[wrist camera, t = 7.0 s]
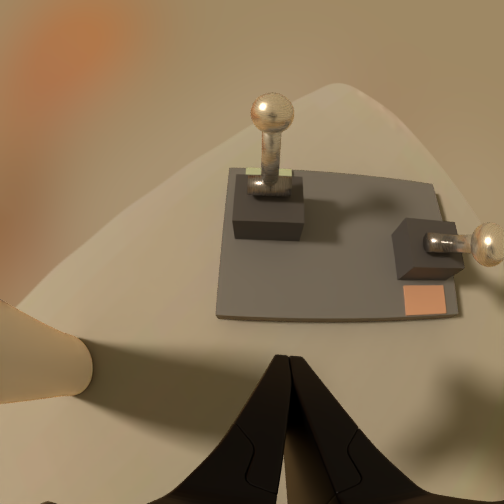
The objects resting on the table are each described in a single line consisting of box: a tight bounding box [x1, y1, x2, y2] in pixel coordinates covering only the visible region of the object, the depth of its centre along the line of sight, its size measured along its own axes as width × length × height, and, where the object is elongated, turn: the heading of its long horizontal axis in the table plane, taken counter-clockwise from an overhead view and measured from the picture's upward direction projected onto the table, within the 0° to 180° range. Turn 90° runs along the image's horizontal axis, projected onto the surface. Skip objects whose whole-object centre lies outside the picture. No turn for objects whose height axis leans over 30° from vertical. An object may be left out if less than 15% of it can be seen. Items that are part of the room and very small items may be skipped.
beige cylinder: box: [0, 299, 93, 404], centre depth 14 cm, size 7×7×15 cm
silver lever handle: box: [423, 222, 504, 267], centre depth 16 cm, size 3×3×8 cm
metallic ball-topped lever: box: [247, 93, 294, 197], centre depth 19 cm, size 3×3×8 cm
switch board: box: [216, 168, 464, 322], centre depth 23 cm, size 13×20×4 cm, turn 87°
